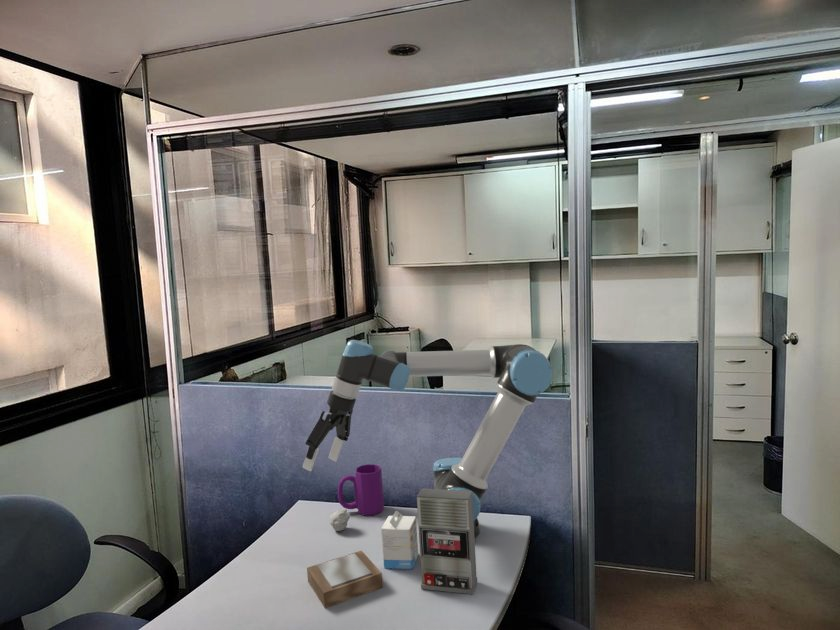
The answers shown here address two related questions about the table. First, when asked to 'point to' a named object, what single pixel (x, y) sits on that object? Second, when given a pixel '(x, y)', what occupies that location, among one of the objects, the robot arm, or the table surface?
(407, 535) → the ink box
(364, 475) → the mug
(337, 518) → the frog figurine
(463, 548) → the cassette tape recorder
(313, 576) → the walnut base
